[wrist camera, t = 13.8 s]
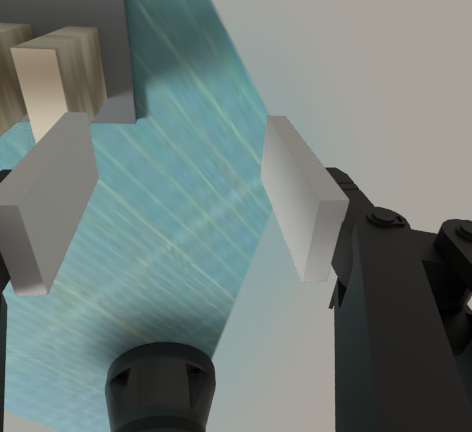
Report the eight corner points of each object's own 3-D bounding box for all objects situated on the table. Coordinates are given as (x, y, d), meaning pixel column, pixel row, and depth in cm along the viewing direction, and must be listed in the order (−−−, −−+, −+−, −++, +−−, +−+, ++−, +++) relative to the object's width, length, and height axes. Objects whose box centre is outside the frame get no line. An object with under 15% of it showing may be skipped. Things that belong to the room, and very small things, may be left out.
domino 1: (107, 98, 28) (75, 147, 20) (81, 97, 28) (36, 147, 19) (97, 27, 25) (55, 49, 17) (67, 26, 25) (10, 47, 17)
